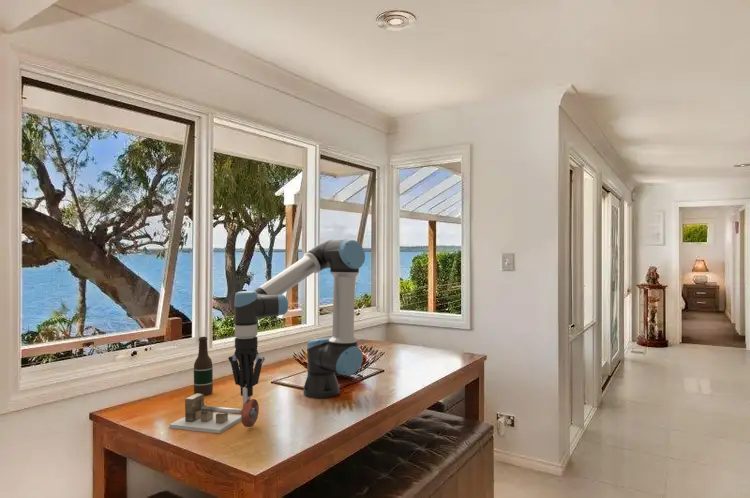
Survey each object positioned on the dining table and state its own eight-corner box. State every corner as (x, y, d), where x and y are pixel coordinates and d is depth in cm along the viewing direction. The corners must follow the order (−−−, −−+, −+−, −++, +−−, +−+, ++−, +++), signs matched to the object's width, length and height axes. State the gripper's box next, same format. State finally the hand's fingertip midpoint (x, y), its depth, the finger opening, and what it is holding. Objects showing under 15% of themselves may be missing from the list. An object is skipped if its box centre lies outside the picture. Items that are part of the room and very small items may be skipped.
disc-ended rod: (261, 422, 170) (261, 395, 170) (247, 431, 161) (247, 403, 161) (211, 417, 176) (211, 391, 176) (195, 425, 167) (194, 399, 167)
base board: (242, 419, 175) (242, 415, 175) (220, 433, 161) (220, 429, 161) (195, 414, 180) (195, 411, 180) (169, 427, 167) (169, 424, 167)
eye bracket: (230, 418, 172) (229, 396, 172) (219, 425, 166) (219, 401, 166) (196, 415, 176) (196, 393, 176) (185, 421, 170) (185, 398, 170)
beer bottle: (206, 396, 202) (206, 339, 202) (189, 395, 204) (189, 338, 204) (216, 391, 210) (216, 335, 210) (200, 390, 211) (199, 335, 212)
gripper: (268, 335, 168) (269, 403, 168) (235, 334, 172) (236, 400, 172) (257, 339, 161) (258, 410, 161) (223, 337, 165) (223, 407, 165)
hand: (246, 405), depth 166 cm, fingers closed
